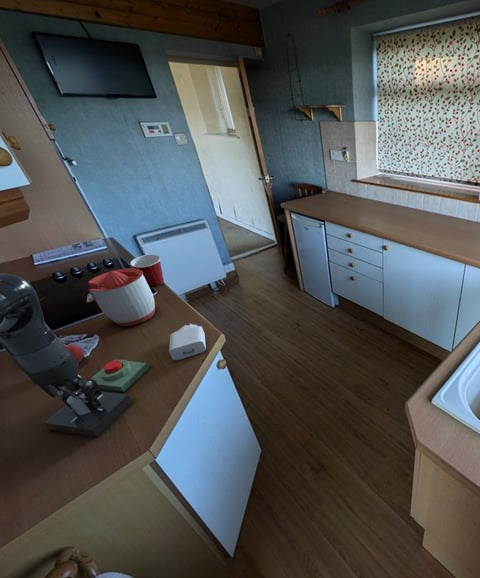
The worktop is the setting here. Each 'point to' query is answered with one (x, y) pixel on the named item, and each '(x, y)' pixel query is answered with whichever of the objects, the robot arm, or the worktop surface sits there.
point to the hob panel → (90, 416)
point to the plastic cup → (149, 268)
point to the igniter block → (121, 376)
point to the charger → (187, 342)
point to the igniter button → (113, 366)
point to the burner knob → (78, 405)
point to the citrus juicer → (123, 296)
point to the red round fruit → (76, 352)
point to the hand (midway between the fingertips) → (86, 406)
